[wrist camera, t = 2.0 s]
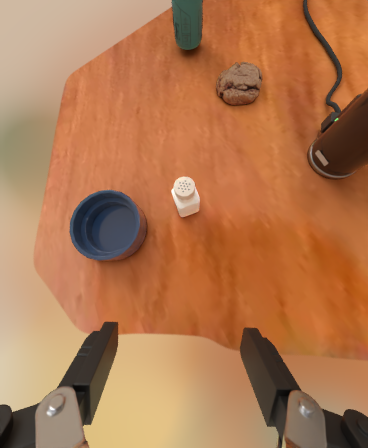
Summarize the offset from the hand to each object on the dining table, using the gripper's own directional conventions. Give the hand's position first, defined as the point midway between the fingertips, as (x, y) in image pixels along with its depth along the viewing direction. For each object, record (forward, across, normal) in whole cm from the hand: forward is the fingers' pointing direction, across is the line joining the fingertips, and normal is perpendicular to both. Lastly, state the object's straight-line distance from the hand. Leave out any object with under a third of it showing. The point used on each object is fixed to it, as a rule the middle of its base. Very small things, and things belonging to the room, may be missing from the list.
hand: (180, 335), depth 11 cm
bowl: (+25, +12, 0) cm, 28 cm away
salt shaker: (+26, -2, -5) cm, 27 cm away
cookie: (+37, -12, -32) cm, 50 cm away
